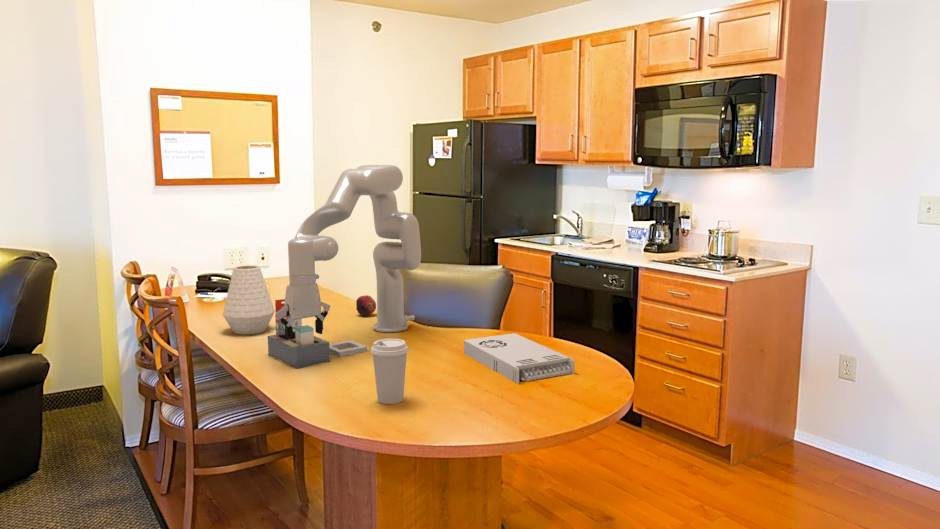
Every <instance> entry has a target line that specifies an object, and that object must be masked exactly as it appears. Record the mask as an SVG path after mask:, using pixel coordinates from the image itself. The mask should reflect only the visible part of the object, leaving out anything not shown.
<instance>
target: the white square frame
mask: <svg viewBox="0 0 940 529" xmlns="http://www.w3.org/2000/svg"><path fill="white" fill-rule="evenodd" d="M329 347H330V355H335V356H337V357H338V358H342V357H347V356H351V355H354V354H356V355H357V354H361V353H364V352H368V346H367V345H364V344H363V343H362V344H361V343H360V342H356V341H354V340H352V339H351V340H350V339H349V340H346V341H339V342H335V343H329ZM349 347H350V348H349ZM344 348H346V349H344Z"/></svg>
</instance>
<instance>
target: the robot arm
mask: <svg viewBox="0 0 940 529" xmlns="http://www.w3.org/2000/svg"><path fill="white" fill-rule="evenodd" d="M403 179H404V176H403V172H402V170H401V168H399V167H398V166H397V165H393V164H364V165H359V166H357V168H348V169H346V170H344V171H342V172H341V174H340V175H339V177H338V179H337V181H336V183H335V185H334V187H333V189H332V190H331V192H330V195H329V197H328V198H327V200H326V202H325V203H324V204H323V205H322V206H320V207H319V208H318V209H316V210H315V211H314V212H312V214H310V215H309V216H308V217H307V218H306V219H305V220H304V221H303V222H302V223H301V224H300V226H299V228H298V230H297V232H296V234H295V236H294V238H292V239H290V240H289V241H288V243H287V252H288V277H289V278H288V279H289V284H287V285H286V288H285V295H284V299H285V301H284V303H285V307H283V308H282V309H280V310H279V311H278V312H276V311H275V314H276V316H277V318H278V319H279V321H280V322H281V323H282V324H283V325H285V336H286V338H288V339H290V340H292V339H293V327H292V326H291V324H292V323H293V321H294V320H295V319H307V318H313V317H315V318H316V319H315V320H314V324H315V325H314V327H315V328H314V329H315V330H314V331H315V333H317V334H318V335H323V331H324V321H325V318H326V317H327V316H328V315H329V311H330V308H331V305H330V304H328V303H326V302H324V301H321V293H320V289H319V284H318V283H317V280H318V279H319V278H320V275H319V274H316V262H319V261H323V262H325V261H331V260H333V259H334V258H335V257H336V256H337V255H338V252H339V244H338V242H337V240H336V239H334V238H333V237H331V236H327V235H326V236H325V235H319V234H320V233H321V232H322V231H323V230H325V229H327V228H329V227H332V226H334V225H336V224H339V223H342V222H344V221H346V220H348V219H349V218H350V217H351V215H352V213H353V211H354V208H355V207H356V205H357V202H358V201H359V199H360V197H362V196H369V198H370V200H371V205H372V213H373V214H372V215H373V223H374V224H373V225H374V229H375V233H376V235H377V236H378V237H379V238H381V239H388V240H400V241H382V242H379V243H377V244H376V245H375V247H374V248H373V252H372V258H373V263H374V267H375V274H376V278H375V279H376V310H377V311H376V317H377V322H376V323H375V324H373V326H372V328H373V330H374V331H376V332H378V333H379V332H381V333H399V332H404V331H406V330H408V329H409V324H408V322H409V321H411V322H412V321H415V319H416V316H415V314H410V315H407V314H405V313H404V312H405V310H404V307H405V306H404V304H405V303H404V302H405V301H404V279H403V278H404V277H403V275H402V272H401V271H400V270H402V271H415V270H417V269H418V267H419V266H420V264H421V262H422V261H421V260H422V249H421V248H422V247H421V246H422V245H421V234H420V223H419V221H418V218H417V217H416V216H415V215H414V214H413V213H411V212H405V211H404V212H400V211H399V210H398V203H397V201H398V200H397V197H396V194H395V192H396V191H397V190H398V189H400V187H401V186H402V185H403V181H404V180H403ZM322 307H323V309H322ZM284 313H285V316H286V319H284V318H283V314H284Z"/></svg>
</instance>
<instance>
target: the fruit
mask: <svg viewBox="0 0 940 529" xmlns="http://www.w3.org/2000/svg"><path fill="white" fill-rule="evenodd" d="M355 302H356V303H355V304H356V306H355V307H356V308H355V310H356V311H357V313H358V314H359V316H360V315H361V316H362V317H368V316H370V315H372V314H373V313H374V312H375V311H376V310H377V301H376V300H375V299H374V298H373V297H372V296H371V295H368V294H367V295H361V296H358V297H357V298H356V301H355Z"/></svg>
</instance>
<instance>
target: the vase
mask: <svg viewBox="0 0 940 529" xmlns="http://www.w3.org/2000/svg"><path fill="white" fill-rule="evenodd" d="M262 272H263V271H262V269H261V266H259V265H253V264H251V265H250V264H249V265H246V264H245V265H239V266H234V267H233V270H232V273H231V277H230V281H229V282H230V283H229V285H228V286H229V287H228V289H227V295H226V299H225V304H224V307H223V310H222V316H223V318H224V320H225V321H226V323H227V324H228V325H229V327H230V328H231V330H232V332H233V333H234V334H236V335H240V336H249V335H250V336H251V335H257V334H261V333H264V332H266V331H267V328H268V327H269V325H270V323H271V320H272V319H273V317H274V316H275V313H276V310H275V308H274V304H273V302H272V299H271V296H270V292H269V290H268V287H267V285H266V281H265V277H264V276H263V275H264V274H263V273H262Z"/></svg>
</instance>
